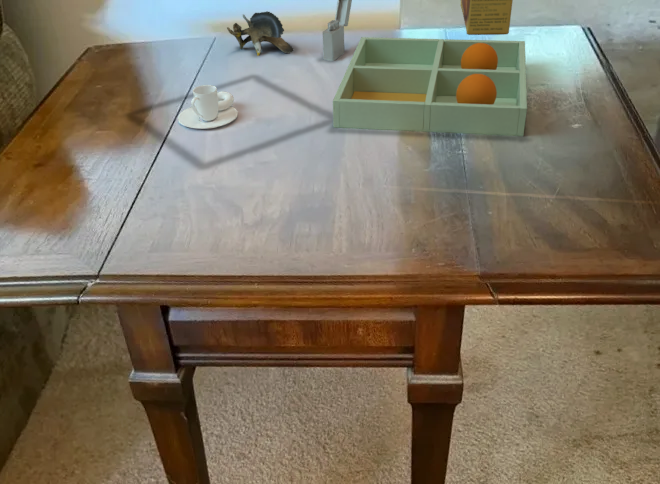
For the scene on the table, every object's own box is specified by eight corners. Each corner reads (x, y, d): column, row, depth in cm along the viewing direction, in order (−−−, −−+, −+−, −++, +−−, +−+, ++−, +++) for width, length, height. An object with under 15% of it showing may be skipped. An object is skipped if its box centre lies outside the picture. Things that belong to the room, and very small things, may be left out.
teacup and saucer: (223, 100, 106) (220, 71, 104) (254, 118, 101) (251, 88, 99) (167, 118, 102) (162, 88, 100) (197, 137, 97) (192, 107, 95)
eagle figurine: (228, 54, 117) (284, 44, 115) (224, 7, 117) (279, -4, 114) (246, 66, 125) (299, 56, 122) (242, 21, 124) (295, 11, 122)
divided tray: (521, 69, 111) (524, 40, 108) (522, 140, 93) (527, 108, 90) (361, 64, 115) (361, 37, 112) (333, 131, 97) (332, 100, 94)
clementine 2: (494, 106, 100) (498, 68, 96) (494, 122, 96) (498, 83, 93) (455, 104, 100) (458, 67, 97) (453, 120, 97) (456, 82, 94)
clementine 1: (496, 73, 108) (500, 38, 105) (495, 87, 104) (499, 50, 101) (460, 72, 109) (463, 37, 106) (458, 86, 105) (461, 49, 102)
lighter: (333, 62, 116) (331, 7, 111) (323, 60, 117) (321, 6, 112) (352, 46, 121) (352, -6, 116) (342, 45, 122) (341, -7, 117)
